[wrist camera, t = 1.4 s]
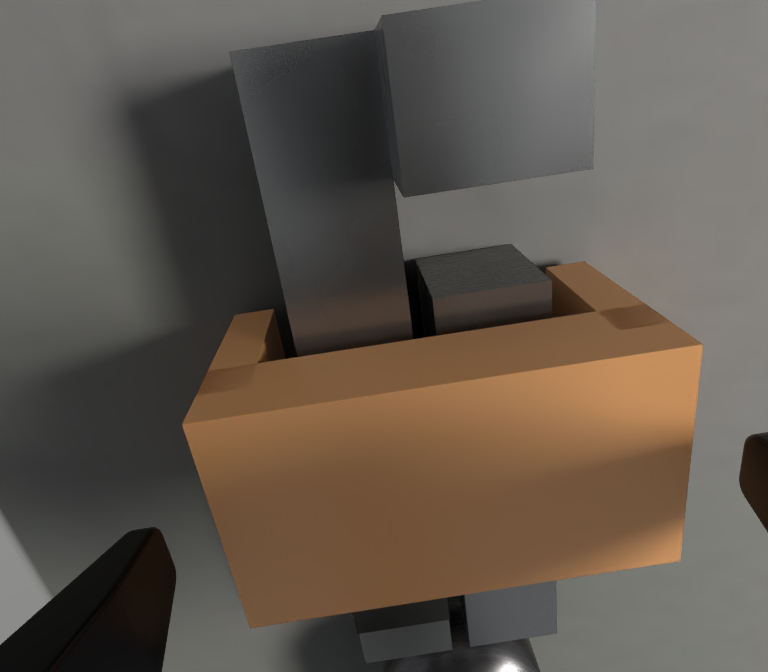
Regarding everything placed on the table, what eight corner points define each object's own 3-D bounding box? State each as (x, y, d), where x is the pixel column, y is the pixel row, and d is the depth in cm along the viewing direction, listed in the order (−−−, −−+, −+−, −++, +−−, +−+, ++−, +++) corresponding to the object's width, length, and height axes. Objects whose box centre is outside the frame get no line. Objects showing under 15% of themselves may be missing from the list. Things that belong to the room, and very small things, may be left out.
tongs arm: (527, 558, 15) (584, 704, 11) (361, 584, 15) (367, 738, 11) (504, 22, 10) (596, -18, 6) (251, 60, 10) (200, 41, 6)
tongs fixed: (530, 665, 17) (558, 752, 15) (391, 687, 17) (399, 778, 14) (511, 244, 11) (551, 280, 9) (308, 274, 11) (301, 319, 9)
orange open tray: (582, 426, 13) (679, 560, 9) (277, 473, 13) (250, 628, 9) (584, 261, 11) (702, 344, 8) (235, 314, 11) (181, 424, 8)
